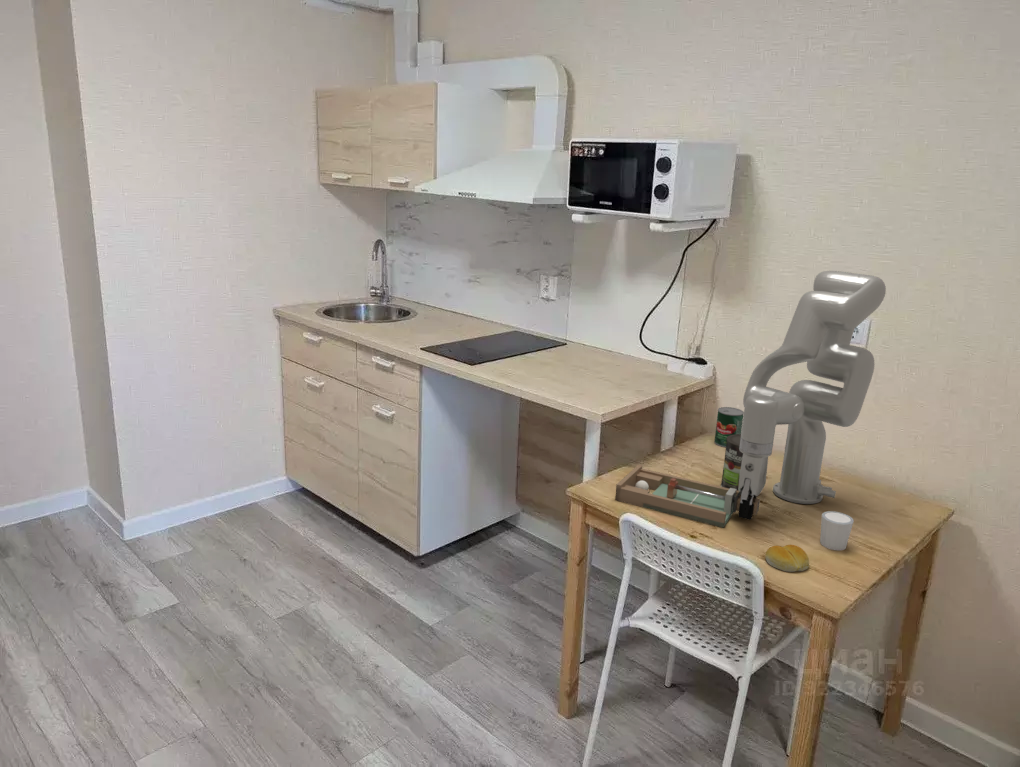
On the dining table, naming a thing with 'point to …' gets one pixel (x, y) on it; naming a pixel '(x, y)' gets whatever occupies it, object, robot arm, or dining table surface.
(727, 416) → the canned tomato
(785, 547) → the bread roll
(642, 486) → the ball
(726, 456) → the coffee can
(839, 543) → the white cup
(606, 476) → the dining table surface
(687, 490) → the kicker rod
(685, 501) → the pitch
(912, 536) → the dining table surface
